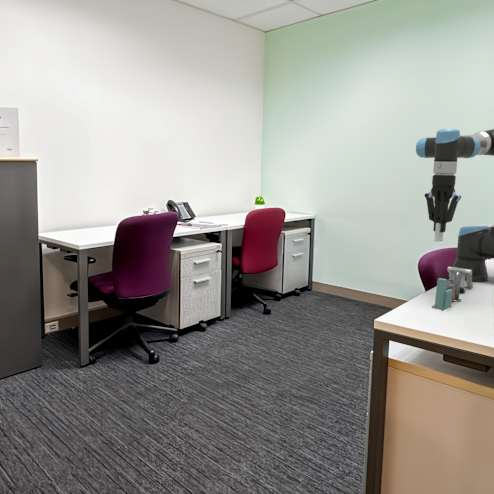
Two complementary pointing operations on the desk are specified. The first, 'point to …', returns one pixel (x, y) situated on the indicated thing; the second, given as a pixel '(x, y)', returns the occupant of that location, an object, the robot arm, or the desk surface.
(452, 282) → the camera
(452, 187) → the robot arm
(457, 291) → the hinge post
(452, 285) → the gate
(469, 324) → the desk surface
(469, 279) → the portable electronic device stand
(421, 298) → the desk surface
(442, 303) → the stile
